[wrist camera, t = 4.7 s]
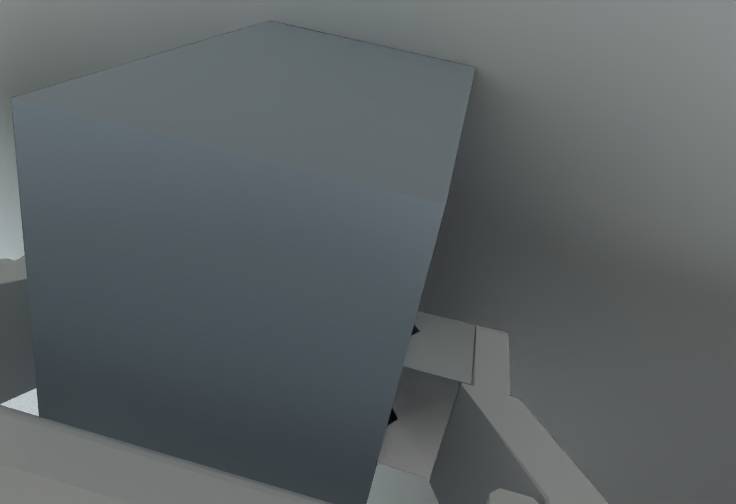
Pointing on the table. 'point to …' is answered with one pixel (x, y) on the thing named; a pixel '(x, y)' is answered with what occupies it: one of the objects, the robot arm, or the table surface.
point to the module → (237, 247)
